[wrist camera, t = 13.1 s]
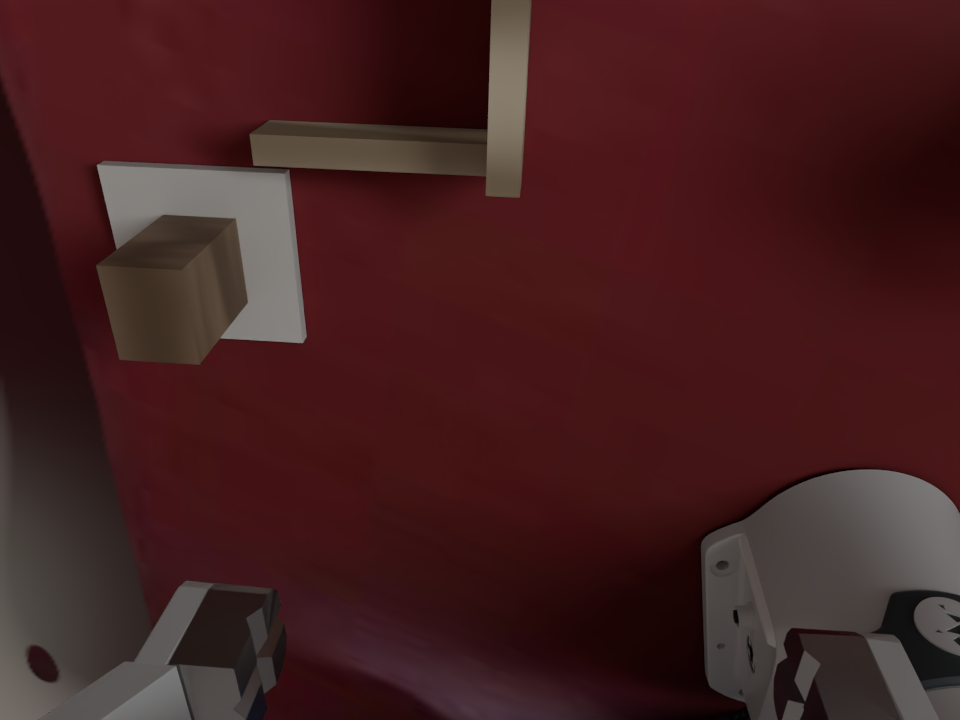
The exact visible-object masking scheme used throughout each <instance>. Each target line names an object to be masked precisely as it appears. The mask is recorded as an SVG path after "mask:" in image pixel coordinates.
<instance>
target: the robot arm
mask: <svg viewBox="0 0 960 720" xmlns="http://www.w3.org/2000/svg"><path fill="white" fill-rule="evenodd" d="M720 561H723V562H720ZM701 568H702V599H703V629H704V660H705V674H706V678H707V681H708V683H709V686H710V687H711V688H712V689H714V690H715V691H717V692H719V693H721V694H723V695H725V696H727V697H730V698H732V699H735V700H738V701H741V702H745V703H746V706H747V709H748V712H749V716H750V719H751V720H960V514H959V512H958V510H957V508H956V507H955V505H954V504H953V503H952V501H951V500H950V499H949V498H948V497H947V496H946V495H945V494H944V493H943V492H941V491H940V490H939V489H937V488H936V487H934V486H933V485H931V484H929V483H927V482H925V481H923V480H921V479H919V478H916V477H913V476H910V475H906V474H903V473H898V472H893V471H886V470H870V469H868V470H850V471H842V472H836V473H831V474H827V475H823V476H820V477H816V478H813V479H810V480H807V481H805V482H802V483H800V484H798V485H796V486H793V487H791V488H789V489H788V490H786V491H784V492H782V493H780V494H779V495H777V496H776V497H774V498H773V499H771V500H770V501H769V502H767V503H766V504H765V505H764V506H762V507H761V508H760V509H759V510H757V511H756V512H755V513H754V514H752V515H751V516H749V517H748V518H746V519H744V520H743V521H740V522H737V523H734V524H731V525H729V526H726V527H723V528H721V529H718V530H716V531H714V532H712V533H710V534H709V535H707V536H706V537H705V538H704V539H703V541H702V543H701ZM280 606H281V603H280V598H279V594H278V591H277V590H274V589H268V588H258V587H249V586H239V585H229V584H220V583H206V582H195V581H186V582H184V583H183V584H182V585H181V586H179V587H178V589H177V590H176V592H175V594H174V595H173V597H172V599H171V600H170V602H169V604H168V605H167V607H166V609H165V610H164V612H163V614H162V615H161V617H160V619H159V620H158V622H157V624H156V625H155V627H154V629H153V630H152V632H151V634H150V635H149V637H148V639H147V640H146V642H145V644H144V645H143V647H142V649H141V650H140V652H139V654H138V655H137V657H136V659H135V660H134V662H123V663H122V664H120V665H119V666H117V667H116V668H114V669H113V670H111V671H110V672H108V673H107V674H105V675H104V676H102V677H101V678H99V679H98V680H97V681H95V682H94V683H92V684H91V685H89V686H88V687H86V688H85V689H83V690H82V691H81V692H79V693H77V694H76V695H74V696H73V697H71V698H70V699H68V700H67V701H65V702H64V703H62V704H61V705H59V706H58V707H56V708H55V709H53V710H52V711H51V712H49V713H48V714H46V715H45V716H43V717H42V718H40V719H39V720H263V718H264V715H265V712H266V710H267V706H266V701H265V696H264V694H265V693H266V692H267V691H268V690H269V689H271V688H272V687H273V686H274V685H276V684H277V681H278V678H279V676H280V673H281V670H282V667H283V662H284V656H285V651H286V632H285V625H284V624H283V623H282V622H281V621H280V620H279V619H278V618H277V617H276V616H277V614H278V611H279V609H280Z"/></svg>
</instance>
